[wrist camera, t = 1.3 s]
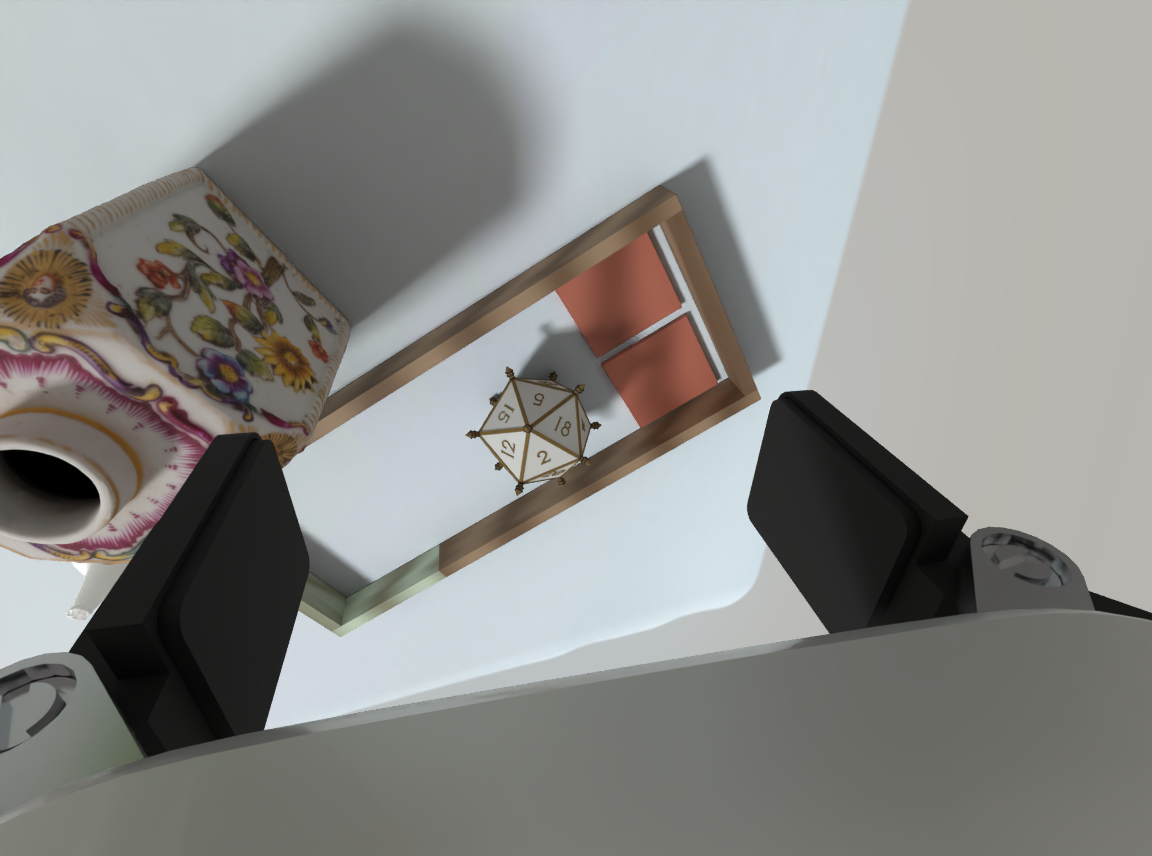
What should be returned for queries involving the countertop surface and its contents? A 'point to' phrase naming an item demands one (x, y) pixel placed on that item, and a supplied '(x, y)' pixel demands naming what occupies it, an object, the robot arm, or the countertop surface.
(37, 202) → the countertop surface
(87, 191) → the countertop surface
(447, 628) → the countertop surface
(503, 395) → the game die
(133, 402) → the decorative jar
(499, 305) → the rectangular wooden frame
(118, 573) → the garlic bulb
